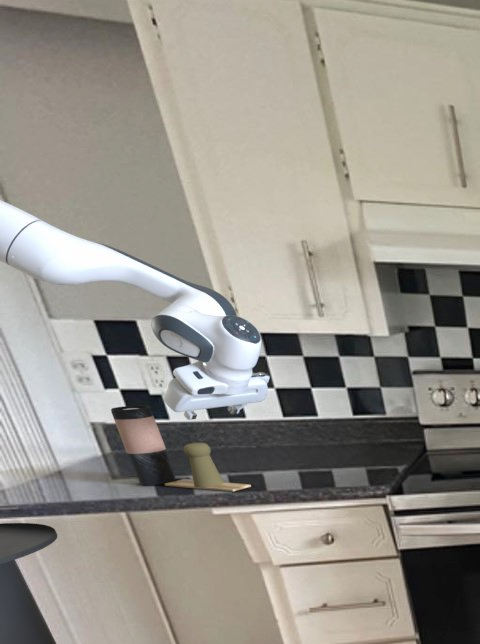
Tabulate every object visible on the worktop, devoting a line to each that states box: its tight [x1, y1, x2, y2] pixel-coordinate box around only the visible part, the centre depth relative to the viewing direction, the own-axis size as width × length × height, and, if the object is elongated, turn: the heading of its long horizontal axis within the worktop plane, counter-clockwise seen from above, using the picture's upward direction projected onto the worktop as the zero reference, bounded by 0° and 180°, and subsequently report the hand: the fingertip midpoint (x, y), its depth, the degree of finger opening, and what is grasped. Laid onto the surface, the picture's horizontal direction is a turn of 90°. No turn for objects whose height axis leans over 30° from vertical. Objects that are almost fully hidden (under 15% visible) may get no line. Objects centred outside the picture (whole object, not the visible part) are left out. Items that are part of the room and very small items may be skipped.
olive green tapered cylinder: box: [183, 442, 224, 487], centre depth 171 cm, size 6×6×11 cm
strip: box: [164, 478, 252, 493], centre depth 174 cm, size 5×22×1 cm, turn 79°
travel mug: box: [110, 404, 177, 486], centre depth 173 cm, size 8×8×20 cm
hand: (211, 414), depth 161 cm, fingers open, 8 cm apart
